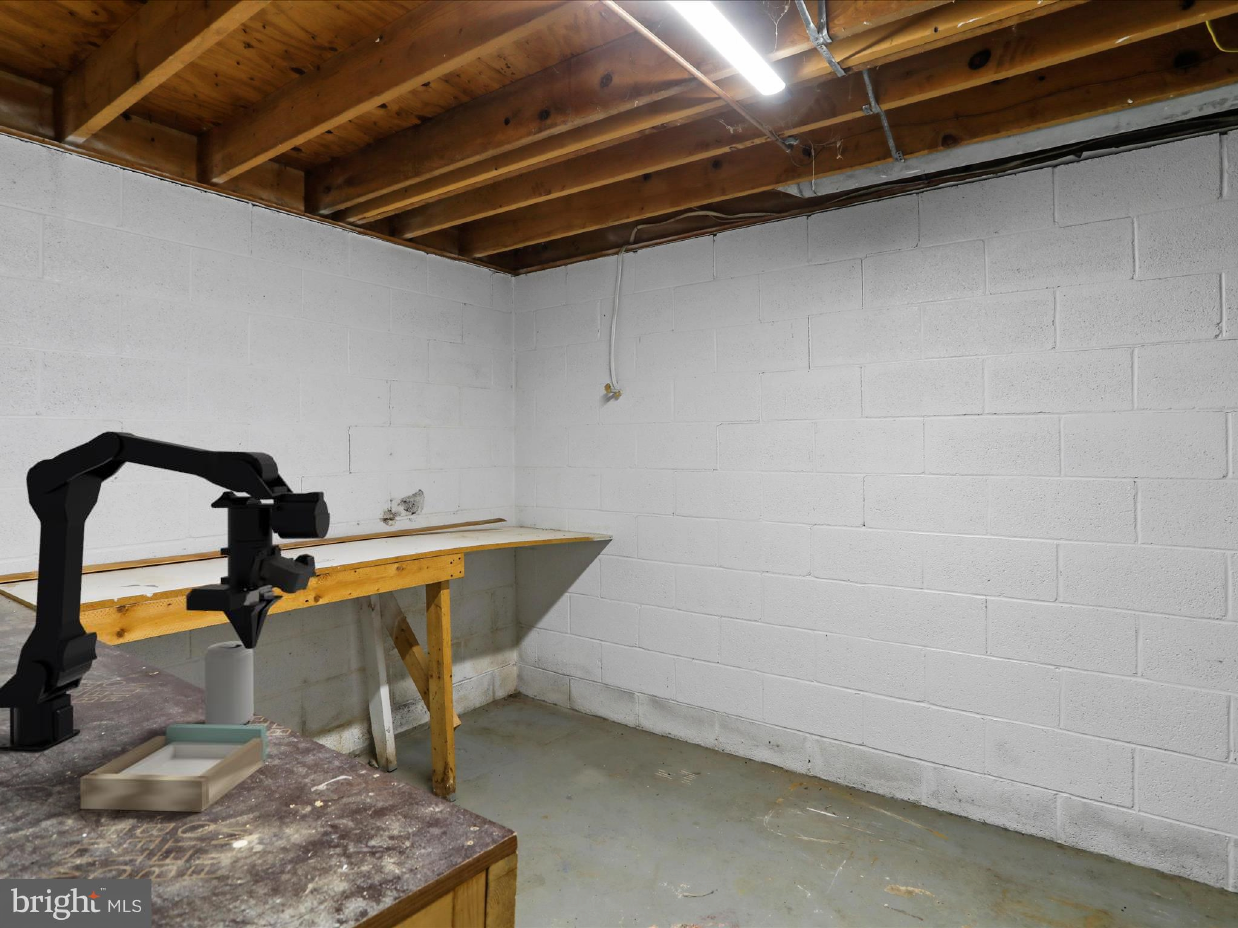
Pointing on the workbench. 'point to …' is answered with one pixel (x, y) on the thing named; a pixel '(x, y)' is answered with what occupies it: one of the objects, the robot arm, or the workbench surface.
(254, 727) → the tray
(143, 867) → the workbench surface
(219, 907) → the workbench surface
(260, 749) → the dock
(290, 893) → the workbench surface
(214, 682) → the beverage can
